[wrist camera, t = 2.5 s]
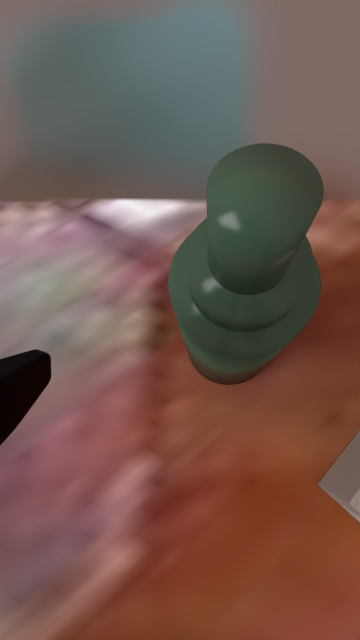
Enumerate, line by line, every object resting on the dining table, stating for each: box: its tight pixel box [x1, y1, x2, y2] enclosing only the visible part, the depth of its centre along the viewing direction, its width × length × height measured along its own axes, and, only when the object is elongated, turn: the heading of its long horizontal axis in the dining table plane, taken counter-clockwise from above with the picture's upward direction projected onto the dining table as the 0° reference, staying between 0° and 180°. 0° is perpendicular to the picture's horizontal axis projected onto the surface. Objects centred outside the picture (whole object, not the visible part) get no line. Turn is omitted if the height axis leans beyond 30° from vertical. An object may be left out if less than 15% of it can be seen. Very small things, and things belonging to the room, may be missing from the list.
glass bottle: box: [168, 144, 323, 385], centre depth 13 cm, size 5×5×14 cm
